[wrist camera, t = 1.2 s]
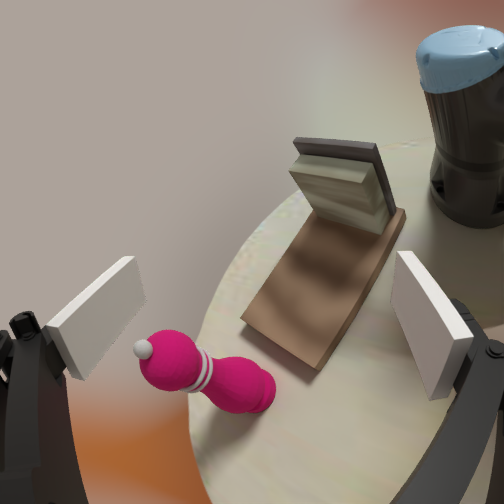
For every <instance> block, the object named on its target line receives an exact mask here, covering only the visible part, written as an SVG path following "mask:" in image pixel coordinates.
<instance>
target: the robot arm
mask: <svg viewBox="0 0 504 504" xmlns="http://www.w3.org/2000/svg"><path fill="white" fill-rule="evenodd" d="M416 61H417V65H418V69H419V73H420V77H421V78H420V84H421V86H422V88H423V90H424V94H425V97H426V101H427V105H428V109H429V113H430V118H431V122H432V127H433V132H434V137H435V142H436V148H435V153H434V157H433V161H432V166H431V170H430V183H431V190H432V195H433V198H434V200H435V202H436V204H437V205H438V207H439V208H440V209H441V210H442V212H443V213H445V214H446V215H447V216H448V217H449V218H451V219H452V220H454V221H456V222H458V223H460V224H462V225H465V226H469V227H473V228H491V227H496V226H499V225H501V224H503V223H504V34H503V33H502V32H500V31H498V30H496V29H493V28H486V27H485V26H476V25H466V26H457V27H451V28H447V29H444V30H441V31H438V32H436V33H434V34H432V35H430V36H428V37H427V38H426V39H424V40H423V41H422V42H421V43H420V45H419V46H418V49H417V52H416ZM146 301H147V300H146V296H145V293H144V289H143V285H142V281H141V277H140V274H139V269H138V266H137V261H136V257H135V256H124V257H122V258H121V259H120V260H119V261H118V262H116V263H115V264H114V265H113V266H111V268H109V269H108V270H107V271H106V272H104V273H103V274H102V275H101V276H100V277H98V278H97V279H96V280H95V281H94V282H93V283H92V284H90V285H89V286H88V287H87V288H86V289H85V290H84V291H82V292H81V293H80V294H79V295H78V296H77V297H76V298H75V299H73V300H72V301H71V302H70V303H69V304H68V305H67V306H66V307H65V308H64V309H63V310H61V311H60V312H59V313H58V314H57V315H56V316H55V317H54V318H53V319H52V320H51V321H49V322H48V323H47V324H46V325H45V326H44V327H43V328H42V329H40V327H39V324H38V322H37V320H36V318H35V316H34V313H33V312H32V311H26V312H22V313H19V314H18V315H16V316H14V317H13V318H12V319H11V320H10V322H9V325H10V327H11V329H12V331H13V333H14V335H15V337H16V339H11V337H10V335H9V333H8V331H6V330H1V331H0V369H2V371H3V373H4V374H5V376H6V377H7V380H6V382H5V381H4V380H3V379H2V377H1V376H0V504H89V503H88V500H87V497H86V493H85V490H84V486H83V482H82V478H81V474H80V470H79V465H78V461H77V456H76V451H75V446H74V441H73V435H72V428H71V422H70V415H69V407H68V398H67V387H66V378H65V375H64V374H63V370H64V369H65V368H66V367H67V369H68V371H69V372H70V374H71V376H72V377H73V378H76V379H79V380H83V381H85V380H86V378H87V377H88V376H89V374H90V373H91V372H92V370H93V369H94V368H95V366H96V365H97V364H98V362H99V361H100V360H101V358H102V357H103V356H104V355H105V353H106V352H107V351H108V349H109V348H110V347H111V345H112V344H113V343H114V342H115V340H116V339H117V338H118V336H119V335H120V334H121V332H122V331H123V330H124V329H125V328H126V326H127V325H128V324H129V322H130V321H131V320H132V319H133V317H134V316H135V315H136V313H137V312H138V311H139V310H140V308H141V307H142V306H143V305H144V304H145V303H146ZM390 302H391V304H392V306H393V308H394V311H395V313H396V315H397V317H398V320H399V322H400V325H401V327H402V329H403V332H404V334H405V337H406V339H407V341H408V344H409V346H410V349H411V352H412V354H413V357H414V359H415V362H416V365H417V367H418V370H419V373H420V375H421V378H422V381H423V384H424V387H425V389H426V392H427V395H428V398H429V401H430V400H436V399H441V398H446V397H448V395H449V393H450V391H451V389H452V387H453V386H454V388H455V391H456V393H457V394H456V396H455V398H454V400H453V402H452V404H451V406H450V407H449V409H448V411H447V414H446V416H445V418H444V420H443V422H442V424H441V426H440V428H439V430H438V431H437V433H436V435H435V437H434V438H433V440H432V442H431V444H430V445H429V447H428V449H427V450H426V452H425V454H424V455H423V457H422V458H421V460H420V462H419V463H418V465H417V466H416V468H415V469H414V471H413V472H412V474H411V475H410V477H409V478H408V480H407V481H406V482H405V484H404V485H403V487H402V488H401V489H400V491H399V492H398V493H397V495H396V496H395V497H394V499H393V500H392V501H391V502H390V504H459V502H460V501H461V499H462V497H463V495H464V493H465V491H466V489H467V487H468V485H469V483H470V481H471V479H472V477H473V475H474V473H475V470H476V468H477V466H478V464H479V461H480V459H481V457H482V454H483V452H484V449H485V447H486V444H487V441H488V439H489V436H490V433H491V430H492V427H493V424H494V421H495V418H496V415H497V412H498V419H497V434H496V444H495V453H494V461H493V468H492V474H491V480H490V485H489V490H488V495H487V499H486V503H485V504H504V344H503V343H501V342H499V341H497V340H492V339H490V340H489V339H488V337H487V336H486V334H485V333H484V331H483V330H482V328H481V327H480V326H479V324H478V323H477V321H476V320H475V319H474V317H473V316H472V314H470V312H469V310H468V309H467V308H466V306H465V305H464V304H462V303H461V302H460V301H458V300H457V299H448V298H447V296H446V295H445V293H444V292H443V291H442V289H441V288H440V287H439V285H438V284H437V283H436V281H435V280H434V279H433V277H432V276H431V275H430V273H429V272H428V271H427V270H426V268H425V267H424V266H423V265H422V263H421V262H420V261H419V259H418V258H417V257H416V256H415V255H414V253H413V252H412V251H397V257H396V265H395V273H394V281H393V288H392V295H391V301H390Z"/></svg>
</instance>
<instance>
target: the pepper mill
mask: <svg viewBox="0 0 504 504" xmlns="http://www.w3.org/2000/svg"><path fill="white" fill-rule="evenodd" d="M133 351H134V353H135V355H136V356H137V357H138V358H139V363H140V369H141V372H142V374H143V376H144V377H145V379H146V380H147V381H148V382H149V383H150V384H151V385H153V386H155V387H156V388H158V389H160V390H165V391H178V390H180V391H184V392H187V393H196V392H198V391H200V392H202V393H204V394H205V395H206V396H207V397H208V398H209V399H210V400H211V401H212V403H213V404H215V405H216V406H217V407H219V408H220V409H222V410H224V411H227V412H230V413H245V412H249V413H258V412H261V411H263V410H265V409H266V408H268V407H269V405H270V404H271V403H272V401H273V399H274V397H275V393H276V384H275V381H274V379H273V377H272V376H271V374H270V373H268V372H267V371H265V370H263V369H261V368H260V367H259V366H258V365H257V364H256V363H255V362H253V361H252V360H249V359H246V358H243V357H227V358H223V359H214V358H212V357H211V356H210V354H209V353H208V352H207V351H206V350H205V349H203V348H200V347H199V346H197V345H195V343H194V342H193V341H192V340H191V339H190V338H189V337H188V336H187V335H185V334H183V333H181V332H178V331H175V330H162V331H159V332H157V333H154V334H153V335H152V336H150V337H149V338H148V339H147V340H138V341H137V342H136V343H135V344H134V347H133Z"/></svg>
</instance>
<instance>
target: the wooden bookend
mask: <svg viewBox="0 0 504 504" xmlns="http://www.w3.org/2000/svg"><path fill="white" fill-rule="evenodd" d="M293 144H294V145H295V147H296V148H297V150H298V152H299V153H300V156H299V157H298V159H297V160H296V161H295V163H294V164H293V165H292V167H291V168H290V169H289V172H290V174H291V176H292V177H293V179H294V180H295V182H296V183H297V185H298V186H299V188H300V189H301V191H302V192H303V194H304V196H305V197H306V199H307V200H308V202H309V203H310V205H311V207H312V208H313V211H312V213H311V214H310V216H309V217H308V219H307V220H306V222H305V223H304V225H303V226H302V228H301V229H300V231H299V232H298V234H297V235H296V237H295V238H294V240H293V241H292V243H291V244H290V246H289V247H288V249H287V250H286V252H285V253H284V255H283V256H282V258H281V259H280V261H279V262H278V264H277V265H276V267H275V268H274V269H273V271H272V272H271V274H270V275H269V277H268V278H267V280H266V281H265V283H264V284H263V286H262V287H261V289H260V290H259V291H258V293H257V294H256V296H255V297H254V299H253V300H252V302H251V303H250V305H249V306H248V307H247V309H246V310H245V312H244V313H243V315H242V316H241V317H240V319H242V320H243V321H245V322H246V323H247V324H249V325H250V326H252V327H253V328H255V329H256V330H258V331H259V332H260V333H262V334H263V335H265V336H266V337H268V338H269V339H271V340H272V341H274V342H275V343H277V344H278V345H280V346H281V347H283V348H284V349H286V350H287V351H289V352H290V353H292V354H293V355H295V356H296V357H298V358H299V359H301V360H302V361H304V362H305V363H307V364H308V365H310V366H311V367H313V368H315V369H316V370H318V371H321V369H322V368H323V366H324V365H325V363H326V362H327V360H328V359H329V357H330V356H331V354H332V353H333V351H334V350H335V348H336V347H337V345H338V343H339V342H340V340H341V339H342V337H343V335H344V334H345V332H346V331H347V329H348V327H349V326H350V324H351V322H352V321H353V319H354V317H355V316H356V314H357V312H358V311H359V309H360V307H361V305H362V304H363V302H364V300H365V298H366V297H367V295H368V293H369V291H370V290H371V288H372V286H373V284H374V282H375V280H376V279H377V277H378V275H379V273H380V271H381V269H382V267H383V265H384V263H385V261H386V260H387V258H388V256H389V254H390V252H391V250H392V248H393V246H394V244H395V242H396V239H397V237H398V235H399V233H400V231H401V229H402V227H403V225H404V223H405V220H406V214H405V210H404V209H401V208H397V207H396V205H395V202H394V198H393V195H392V191H391V188H390V185H389V181H388V178H387V175H386V172H385V169H384V166H383V163H382V160H381V157H380V154H379V151H378V148H377V146H376V143H368V142H359V141H348V140H336V139H322V138H302V137H296V138H295V139H294V141H293Z"/></svg>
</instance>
